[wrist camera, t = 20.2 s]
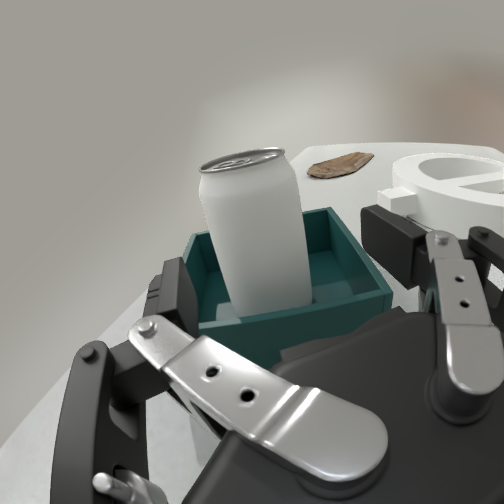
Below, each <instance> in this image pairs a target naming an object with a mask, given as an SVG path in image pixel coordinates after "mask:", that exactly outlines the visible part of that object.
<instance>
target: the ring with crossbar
mask: <svg viewBox="0 0 504 504" xmlns="http://www.w3.org/2000/svg"><path fill="white" fill-rule="evenodd" d="M392 173H393V188H391V189H385V190H380V191H377V194H378V205H379V206H381V207H383V208H385V209H387V210H388V211H390V212H392V213H395V214H398V215H400V216H405V215H407V216H408V217H410V218H411V219H413V220H415V221H417V222H418V223H420V224H422V225H424V226H426V227H429V228H431V229H433V230H442V231H447V232H449V233H452V234H453V235H455V236H456V238H459V239H468V234H469V229H470V228H471V227H474V226H482V227H486V228H488V229H490V230H492V231H494V232H495V233H497V234H498V235H500V236H501V237H503V238H504V163H503V162H500V161H496V160H492V159H488V158H484V157H479V156H473V155H466V154H456V153H424V154H416V155H411V156H407V157H403V158H401V159H399V160H397V161H395V162H394V163H393V165H392ZM496 193H502V194H496Z"/></svg>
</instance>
